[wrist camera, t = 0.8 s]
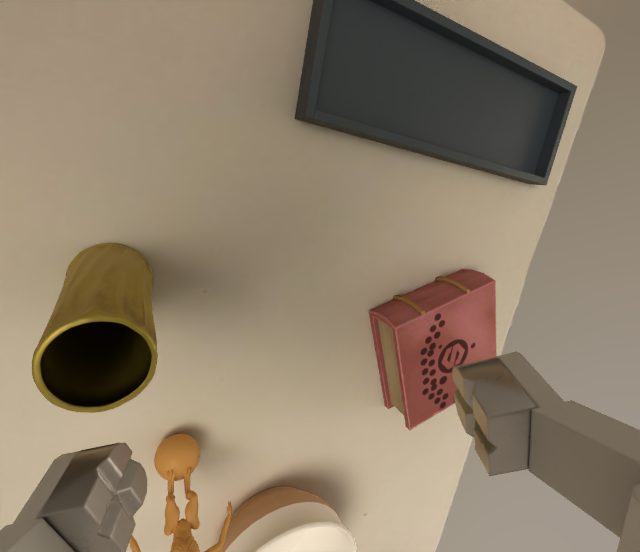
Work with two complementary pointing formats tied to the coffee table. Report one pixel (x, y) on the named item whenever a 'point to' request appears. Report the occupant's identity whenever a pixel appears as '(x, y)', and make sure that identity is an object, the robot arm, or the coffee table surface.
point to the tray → (430, 88)
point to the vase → (99, 332)
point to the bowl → (287, 524)
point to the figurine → (175, 464)
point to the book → (433, 341)
